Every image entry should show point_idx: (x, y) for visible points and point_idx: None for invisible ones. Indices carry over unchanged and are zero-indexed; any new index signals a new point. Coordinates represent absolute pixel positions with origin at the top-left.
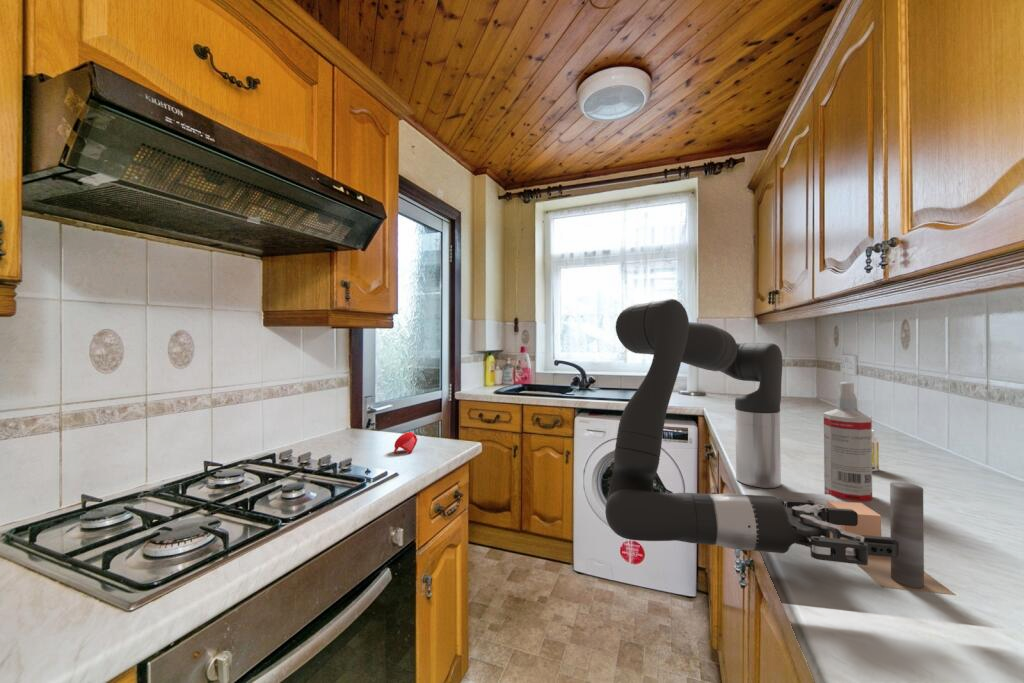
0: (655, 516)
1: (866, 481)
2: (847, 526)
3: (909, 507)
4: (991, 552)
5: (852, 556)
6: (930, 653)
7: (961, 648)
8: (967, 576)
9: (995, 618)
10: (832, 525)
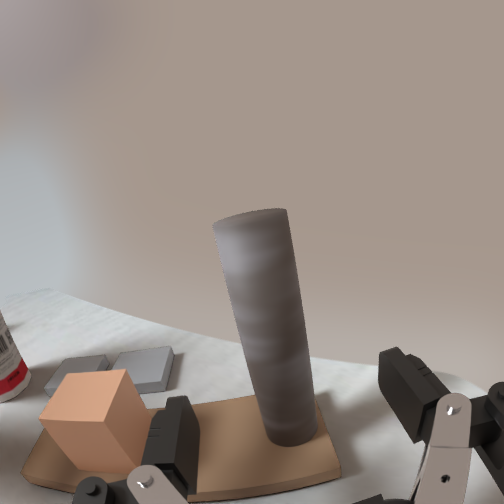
0: None
1: (10, 341)
2: (122, 441)
3: (295, 265)
4: (149, 333)
5: (489, 448)
6: None
7: None
8: (209, 366)
9: (322, 370)
10: (445, 468)
